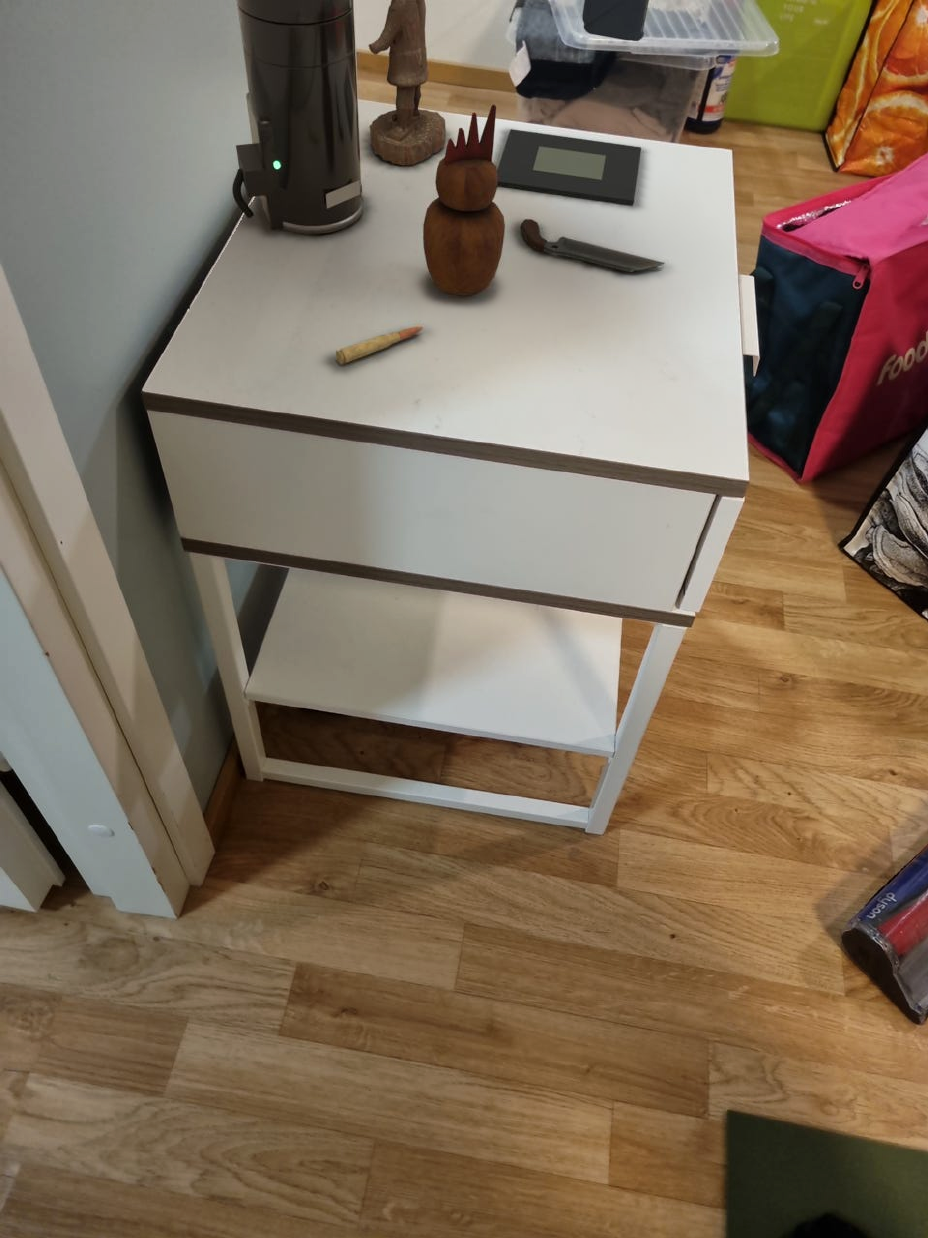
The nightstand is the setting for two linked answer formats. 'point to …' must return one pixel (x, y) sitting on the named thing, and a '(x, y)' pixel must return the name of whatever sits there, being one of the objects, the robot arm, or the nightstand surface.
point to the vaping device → (615, 18)
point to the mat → (569, 166)
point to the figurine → (406, 89)
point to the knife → (585, 250)
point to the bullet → (373, 345)
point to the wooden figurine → (465, 215)
